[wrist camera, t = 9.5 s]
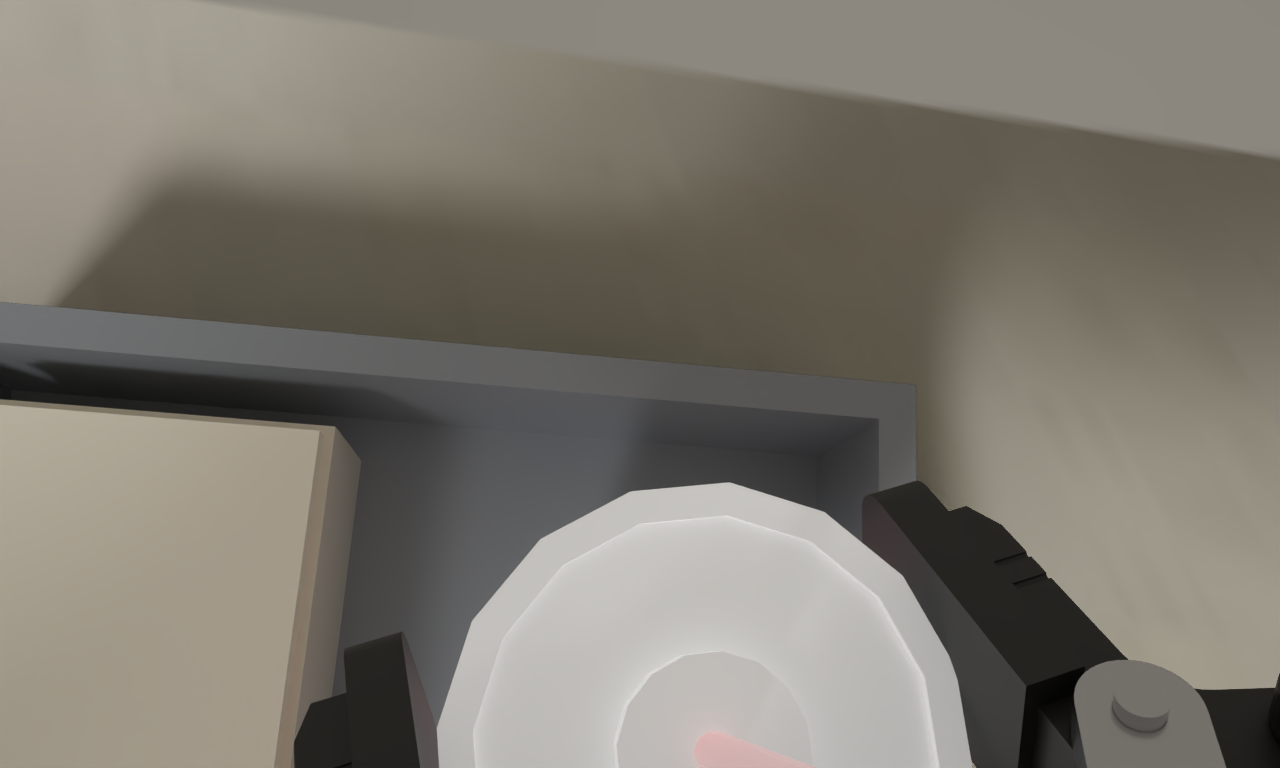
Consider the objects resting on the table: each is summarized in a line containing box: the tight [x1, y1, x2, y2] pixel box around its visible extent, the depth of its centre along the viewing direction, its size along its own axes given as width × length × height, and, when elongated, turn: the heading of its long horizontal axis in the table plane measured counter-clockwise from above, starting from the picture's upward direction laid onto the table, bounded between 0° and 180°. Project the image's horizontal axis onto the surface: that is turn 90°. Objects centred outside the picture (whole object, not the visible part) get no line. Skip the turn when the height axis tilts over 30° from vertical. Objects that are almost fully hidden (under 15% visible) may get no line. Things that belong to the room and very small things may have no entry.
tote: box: [0, 302, 917, 729], centre depth 22 cm, size 21×14×6 cm, turn 87°
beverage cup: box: [437, 482, 972, 768], centre depth 14 cm, size 6×6×14 cm
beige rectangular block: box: [0, 399, 361, 768], centre depth 21 cm, size 7×10×4 cm
